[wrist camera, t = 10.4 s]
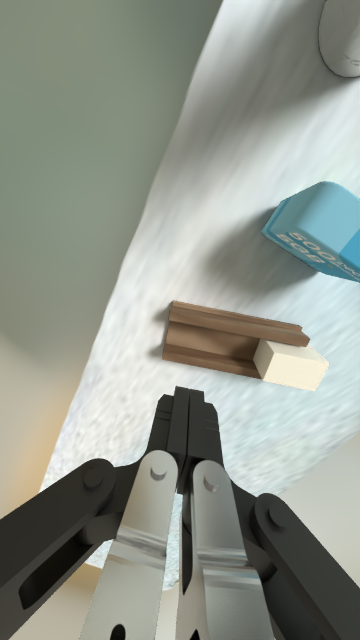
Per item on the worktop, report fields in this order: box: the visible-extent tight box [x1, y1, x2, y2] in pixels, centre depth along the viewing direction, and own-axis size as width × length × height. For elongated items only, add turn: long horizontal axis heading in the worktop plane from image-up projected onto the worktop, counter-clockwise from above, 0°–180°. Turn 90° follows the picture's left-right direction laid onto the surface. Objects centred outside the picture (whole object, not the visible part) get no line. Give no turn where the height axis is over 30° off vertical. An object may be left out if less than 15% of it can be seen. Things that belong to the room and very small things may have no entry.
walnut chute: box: [162, 301, 310, 379], centre depth 35 cm, size 10×22×4 cm, turn 80°
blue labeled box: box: [261, 181, 360, 282], centre depth 24 cm, size 12×4×12 cm, turn 60°
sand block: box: [253, 338, 330, 391], centre depth 32 cm, size 5×8×6 cm, turn 80°
